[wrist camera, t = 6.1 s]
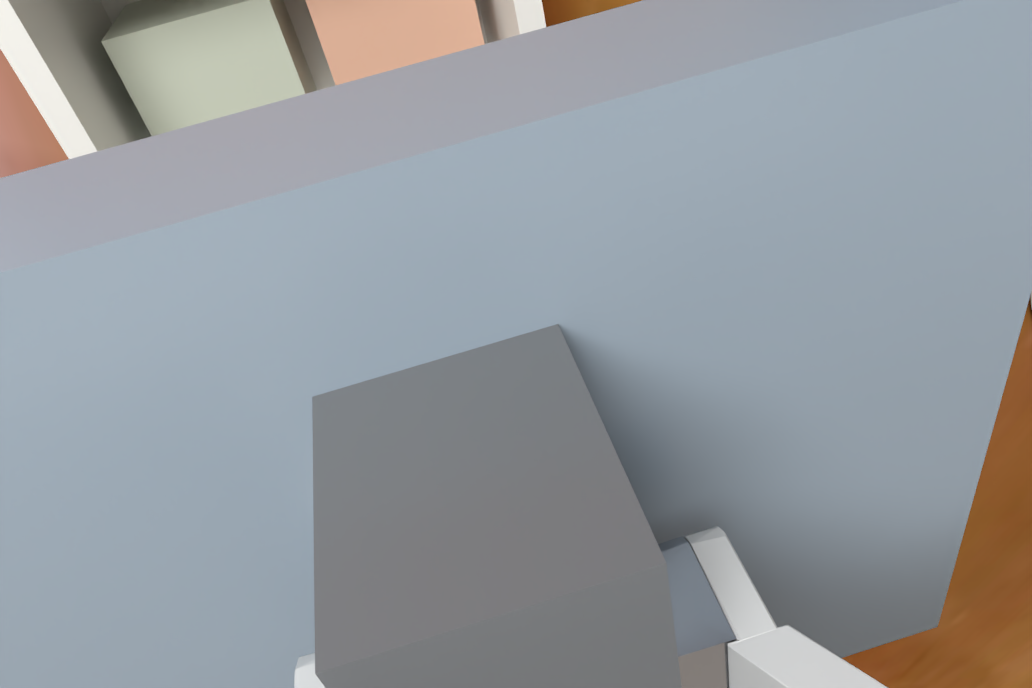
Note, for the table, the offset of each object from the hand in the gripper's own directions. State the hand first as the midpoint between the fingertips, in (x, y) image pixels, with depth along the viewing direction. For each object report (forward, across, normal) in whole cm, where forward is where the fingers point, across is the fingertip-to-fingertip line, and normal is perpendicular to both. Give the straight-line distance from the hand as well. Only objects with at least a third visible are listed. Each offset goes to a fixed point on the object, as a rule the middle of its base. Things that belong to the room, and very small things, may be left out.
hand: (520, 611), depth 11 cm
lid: (+4, 0, 0) cm, 4 cm away
